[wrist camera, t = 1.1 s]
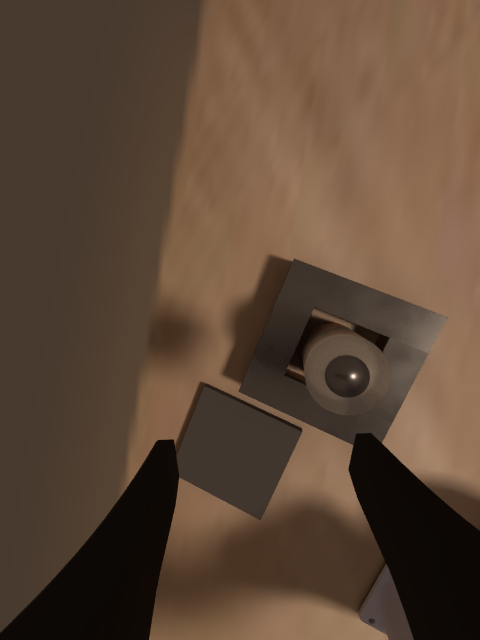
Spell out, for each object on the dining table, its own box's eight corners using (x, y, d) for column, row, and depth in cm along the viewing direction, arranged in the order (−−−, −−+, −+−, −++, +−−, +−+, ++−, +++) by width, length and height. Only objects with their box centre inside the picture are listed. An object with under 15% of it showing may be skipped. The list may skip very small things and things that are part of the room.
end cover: (371, 336, 22) (407, 356, 15) (346, 388, 23) (369, 430, 16) (315, 313, 23) (324, 323, 16) (292, 364, 23) (292, 395, 16)
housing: (432, 314, 21) (447, 317, 19) (367, 439, 23) (375, 455, 21) (294, 261, 23) (294, 258, 20) (243, 382, 24) (238, 391, 22)
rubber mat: (301, 428, 24) (302, 431, 23) (261, 514, 25) (260, 520, 24) (206, 383, 25) (204, 385, 24) (172, 468, 26) (170, 472, 26)
